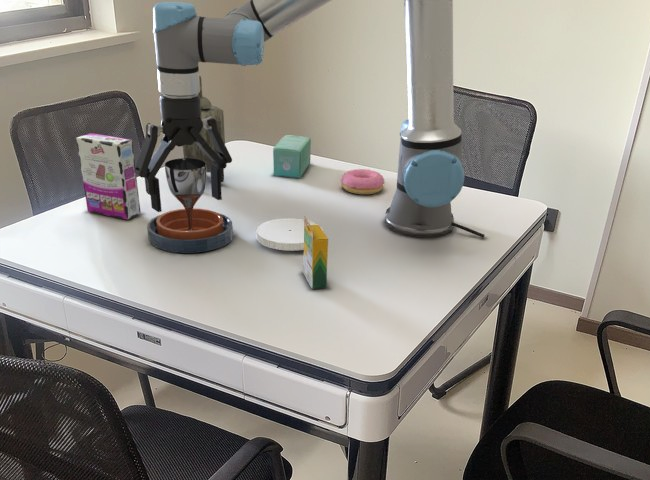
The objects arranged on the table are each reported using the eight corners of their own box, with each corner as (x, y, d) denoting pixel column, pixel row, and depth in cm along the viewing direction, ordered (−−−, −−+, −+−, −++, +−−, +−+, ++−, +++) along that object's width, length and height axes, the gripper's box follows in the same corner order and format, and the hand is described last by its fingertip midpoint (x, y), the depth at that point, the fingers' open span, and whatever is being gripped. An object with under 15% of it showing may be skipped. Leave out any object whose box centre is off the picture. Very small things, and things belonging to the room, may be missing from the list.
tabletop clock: (191, 172, 188) (183, 69, 174) (226, 173, 189) (221, 71, 175) (186, 191, 176) (177, 82, 162) (224, 191, 177) (218, 83, 163)
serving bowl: (248, 242, 151) (248, 228, 149) (173, 261, 142) (172, 247, 140) (206, 217, 162) (205, 204, 160) (134, 233, 152) (132, 219, 151)
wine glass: (202, 245, 148) (196, 171, 139) (165, 240, 149) (157, 167, 141) (216, 231, 154) (211, 160, 146) (180, 226, 155) (174, 156, 147)
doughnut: (331, 189, 182) (332, 173, 180) (356, 179, 190) (357, 163, 187) (367, 199, 177) (368, 182, 175) (392, 188, 185) (393, 172, 182)
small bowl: (236, 241, 151) (235, 223, 149) (177, 255, 144) (176, 236, 142) (203, 221, 160) (202, 204, 158) (147, 234, 152) (144, 216, 150)
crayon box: (327, 288, 135) (329, 229, 128) (311, 289, 134) (312, 230, 128) (317, 272, 140) (319, 214, 134) (302, 273, 140) (303, 215, 133)
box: (272, 176, 189) (272, 147, 185) (284, 161, 200) (284, 134, 196) (300, 179, 188) (300, 150, 184) (310, 164, 199) (311, 136, 195)
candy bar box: (142, 213, 162) (133, 139, 153) (128, 220, 158) (118, 144, 149) (101, 205, 165) (90, 131, 156) (86, 211, 161) (74, 136, 153)
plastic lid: (244, 247, 149) (244, 236, 147) (274, 225, 160) (274, 214, 158) (307, 260, 145) (307, 248, 144) (333, 236, 156) (333, 225, 155)
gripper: (226, 85, 146) (230, 188, 157) (107, 96, 132) (121, 209, 143) (247, 92, 141) (249, 198, 152) (125, 105, 127) (138, 221, 138)
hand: (187, 203), depth 148 cm, fingers open, 13 cm apart
